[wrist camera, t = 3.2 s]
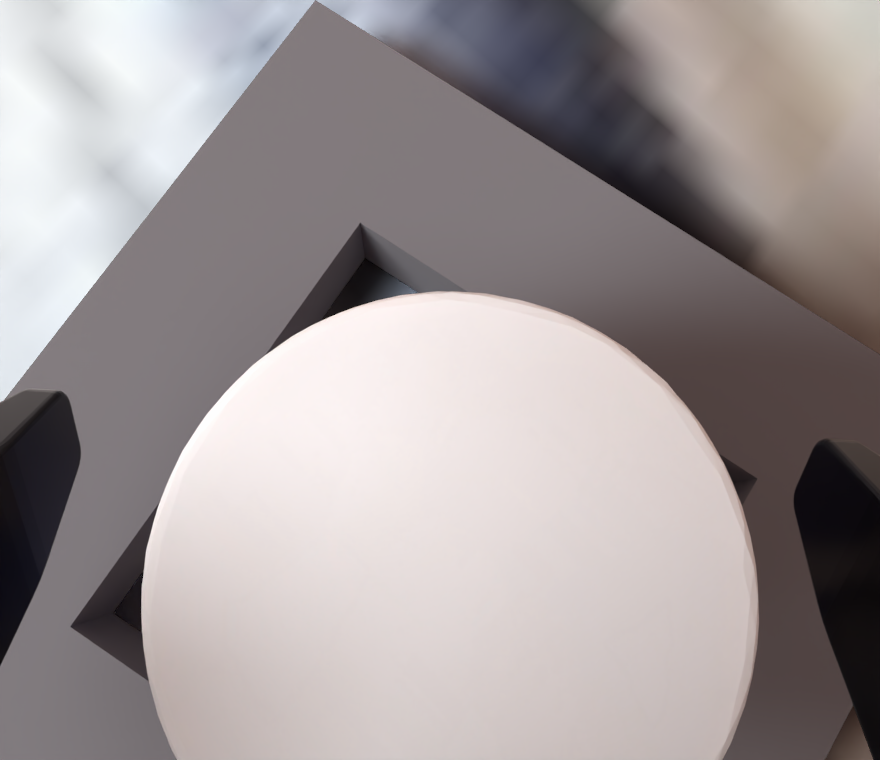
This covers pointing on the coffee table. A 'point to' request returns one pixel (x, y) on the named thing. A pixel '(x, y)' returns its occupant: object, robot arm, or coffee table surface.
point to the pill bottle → (450, 551)
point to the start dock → (425, 270)
